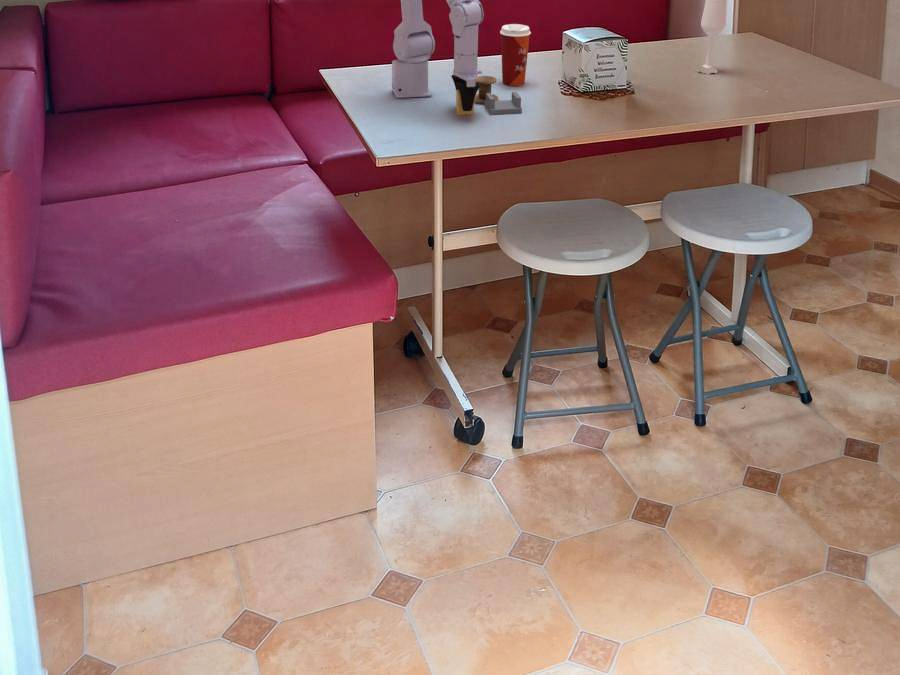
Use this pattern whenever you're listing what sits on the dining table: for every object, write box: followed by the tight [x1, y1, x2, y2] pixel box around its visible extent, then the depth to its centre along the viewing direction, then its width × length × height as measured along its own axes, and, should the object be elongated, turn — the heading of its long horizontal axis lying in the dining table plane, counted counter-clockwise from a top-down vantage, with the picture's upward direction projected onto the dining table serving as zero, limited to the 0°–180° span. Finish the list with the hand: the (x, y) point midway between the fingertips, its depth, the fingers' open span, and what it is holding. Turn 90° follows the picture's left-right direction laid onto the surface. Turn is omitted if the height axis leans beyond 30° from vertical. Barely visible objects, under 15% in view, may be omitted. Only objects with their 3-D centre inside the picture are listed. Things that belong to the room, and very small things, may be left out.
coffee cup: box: [499, 23, 532, 87], centre depth 278 cm, size 8×8×15 cm
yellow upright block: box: [455, 89, 475, 116], centre depth 258 cm, size 4×3×6 cm
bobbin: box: [474, 75, 499, 106], centre depth 267 cm, size 7×7×6 cm
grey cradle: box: [484, 91, 523, 116], centre depth 261 cm, size 8×7×4 cm
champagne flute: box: [700, 0, 728, 68], centre depth 288 cm, size 7×7×24 cm
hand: (465, 107), depth 259 cm, fingers open, 5 cm apart
